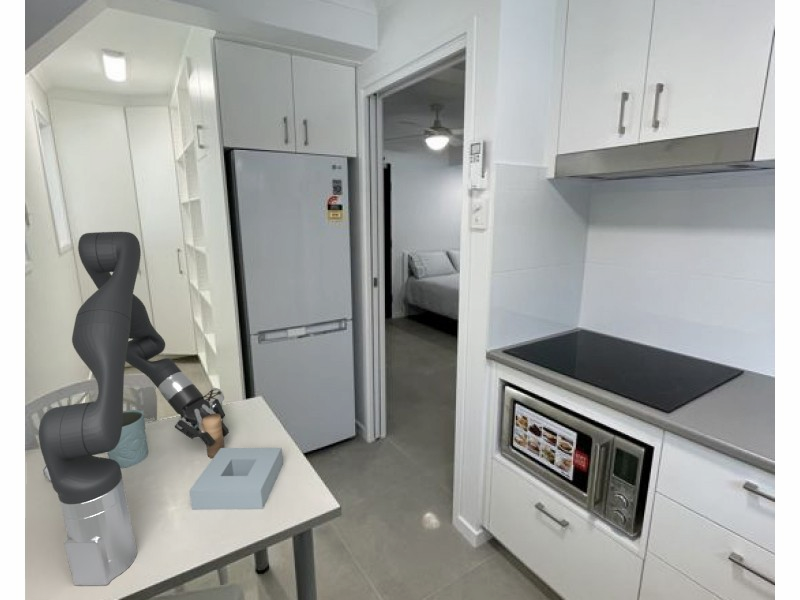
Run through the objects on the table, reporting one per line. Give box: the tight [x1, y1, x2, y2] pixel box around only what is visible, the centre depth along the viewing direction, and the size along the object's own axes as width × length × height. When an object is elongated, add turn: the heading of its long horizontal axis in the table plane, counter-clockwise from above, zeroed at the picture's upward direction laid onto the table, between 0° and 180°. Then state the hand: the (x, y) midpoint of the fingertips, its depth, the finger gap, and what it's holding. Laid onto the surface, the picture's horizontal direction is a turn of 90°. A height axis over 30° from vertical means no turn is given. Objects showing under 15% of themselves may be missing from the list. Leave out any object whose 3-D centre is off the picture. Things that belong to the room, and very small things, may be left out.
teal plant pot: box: [107, 409, 149, 469], centre depth 108 cm, size 10×10×12 cm
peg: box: [203, 413, 225, 459], centre depth 110 cm, size 4×4×11 cm
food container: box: [203, 386, 225, 426], centre depth 124 cm, size 12×6×10 cm, turn 179°
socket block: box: [188, 447, 284, 510], centre depth 98 cm, size 16×16×5 cm
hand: (219, 439), depth 109 cm, fingers closed on peg, 4 cm apart
